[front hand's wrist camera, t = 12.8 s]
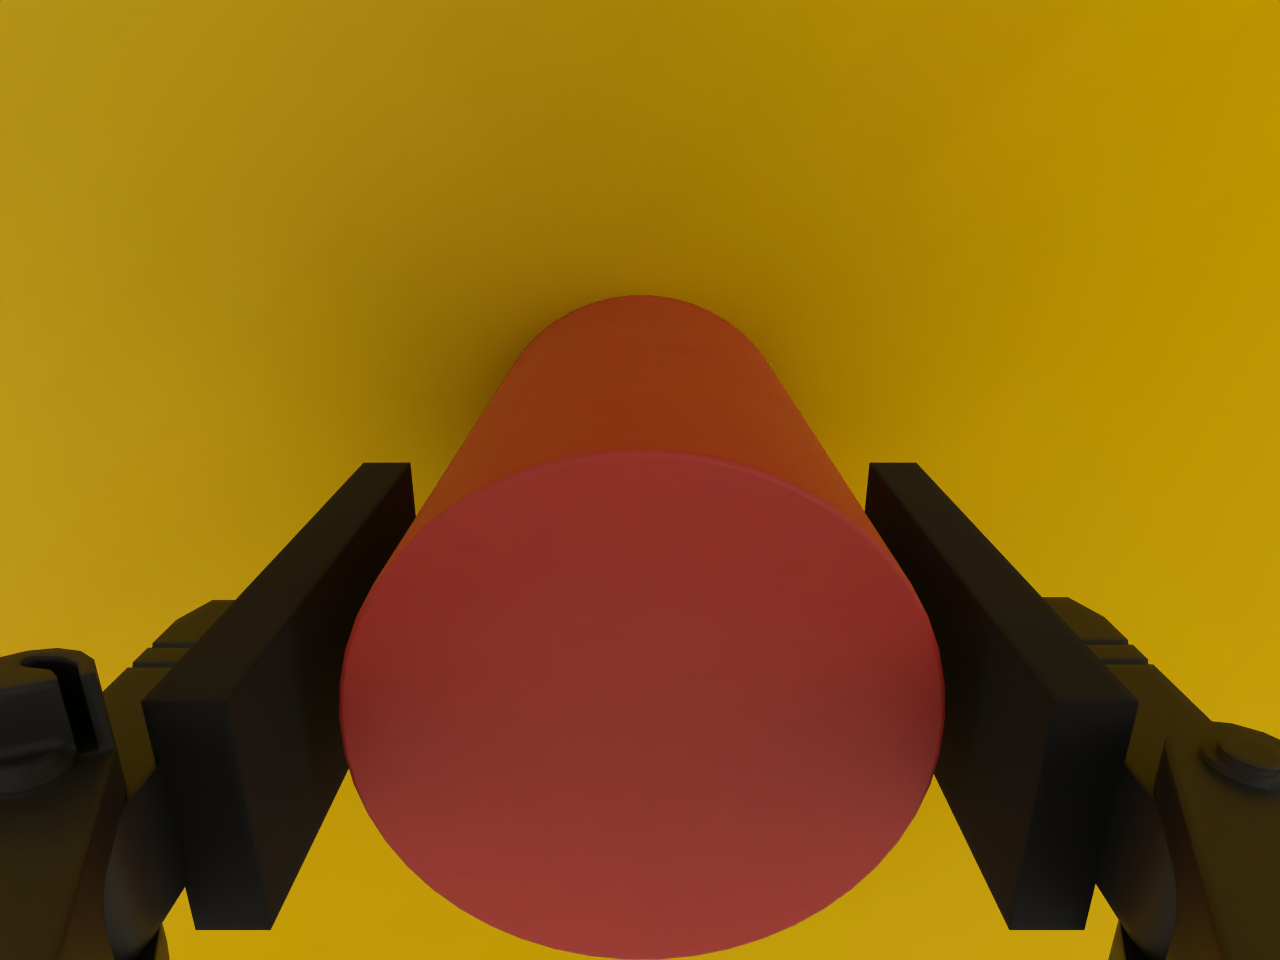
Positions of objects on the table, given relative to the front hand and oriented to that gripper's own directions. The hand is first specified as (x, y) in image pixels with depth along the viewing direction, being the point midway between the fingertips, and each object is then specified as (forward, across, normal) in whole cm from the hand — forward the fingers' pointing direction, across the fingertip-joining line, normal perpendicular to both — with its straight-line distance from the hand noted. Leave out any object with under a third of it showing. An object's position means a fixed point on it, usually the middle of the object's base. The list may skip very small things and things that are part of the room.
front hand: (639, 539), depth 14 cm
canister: (+5, 0, 0) cm, 5 cm away
